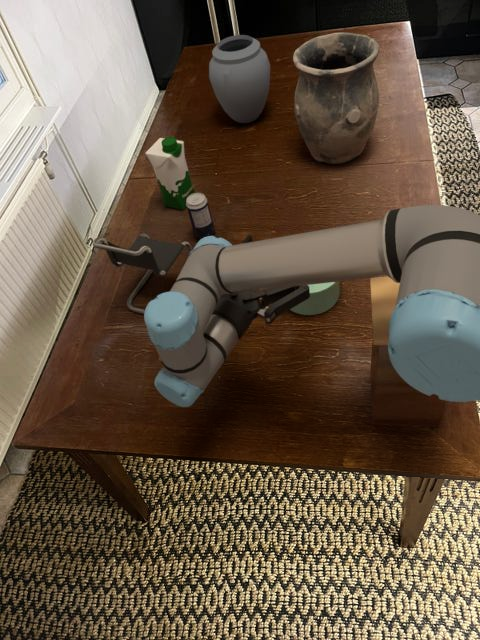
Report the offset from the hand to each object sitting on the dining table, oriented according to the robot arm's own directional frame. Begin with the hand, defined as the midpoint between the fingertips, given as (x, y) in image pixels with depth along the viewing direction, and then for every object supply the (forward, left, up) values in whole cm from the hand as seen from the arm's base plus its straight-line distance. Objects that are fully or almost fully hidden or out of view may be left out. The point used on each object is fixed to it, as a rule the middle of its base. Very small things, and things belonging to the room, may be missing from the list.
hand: (281, 249), depth 102 cm
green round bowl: (+9, -4, -23) cm, 25 cm away
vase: (+89, +20, -23) cm, 94 cm away
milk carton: (+46, +35, -23) cm, 62 cm away
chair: (+11, +33, -23) cm, 41 cm away
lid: (+9, -4, -15) cm, 18 cm away
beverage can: (+31, +25, -23) cm, 46 cm away
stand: (-19, -23, -23) cm, 38 cm away
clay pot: (+66, -10, -23) cm, 70 cm away
